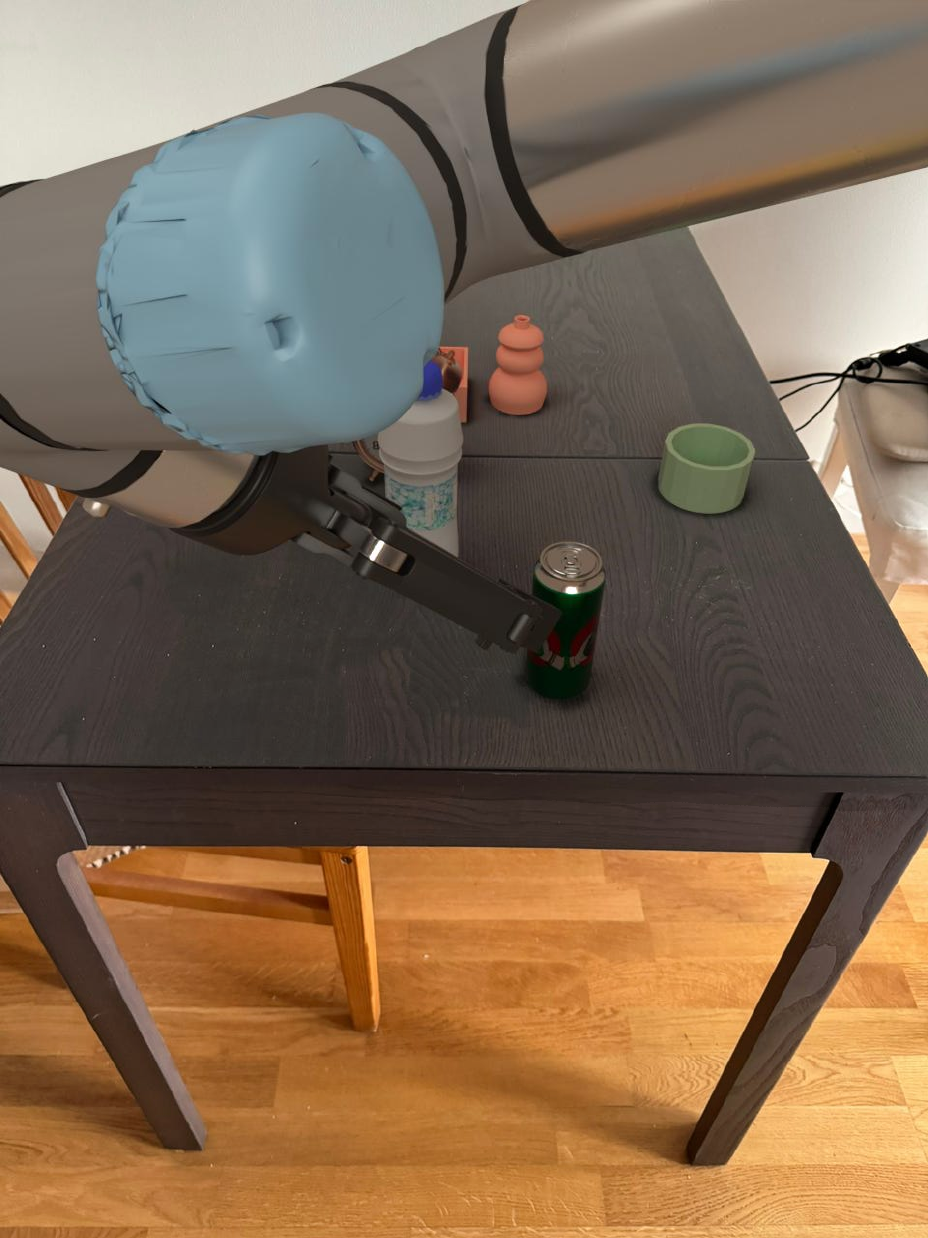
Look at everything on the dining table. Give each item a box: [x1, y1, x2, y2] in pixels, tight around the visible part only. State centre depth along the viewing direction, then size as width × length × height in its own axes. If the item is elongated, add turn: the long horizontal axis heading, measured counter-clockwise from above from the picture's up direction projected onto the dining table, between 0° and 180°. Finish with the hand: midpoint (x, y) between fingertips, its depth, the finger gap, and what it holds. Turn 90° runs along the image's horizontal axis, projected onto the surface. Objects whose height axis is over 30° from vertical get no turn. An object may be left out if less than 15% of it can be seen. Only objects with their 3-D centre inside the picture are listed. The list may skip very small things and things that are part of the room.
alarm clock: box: [351, 348, 462, 482], centre depth 89 cm, size 11×5×15 cm, turn 94°
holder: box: [657, 422, 756, 515], centre depth 91 cm, size 8×8×5 cm
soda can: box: [524, 541, 607, 701], centre depth 68 cm, size 5×5×12 cm
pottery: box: [439, 314, 548, 423], centre depth 101 cm, size 18×10×10 cm, turn 89°
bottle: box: [378, 360, 464, 558], centre depth 75 cm, size 7×7×20 cm
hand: (461, 573), depth 56 cm, fingers open, 13 cm apart
